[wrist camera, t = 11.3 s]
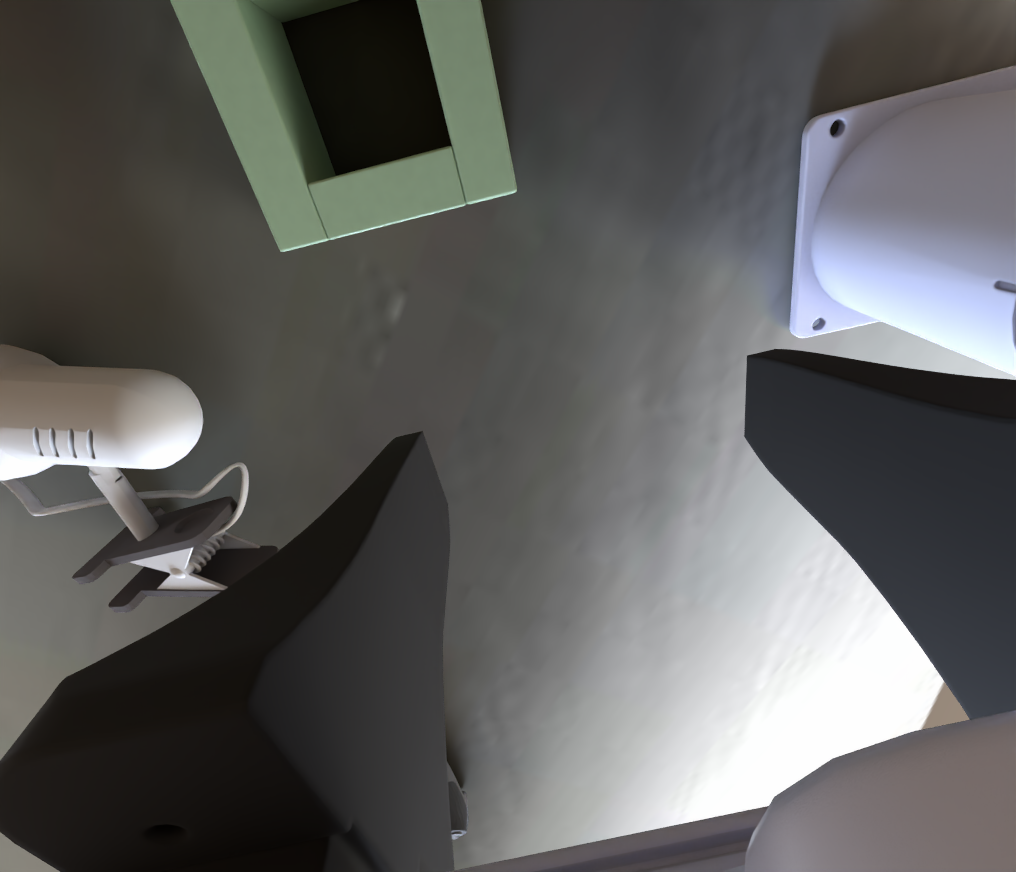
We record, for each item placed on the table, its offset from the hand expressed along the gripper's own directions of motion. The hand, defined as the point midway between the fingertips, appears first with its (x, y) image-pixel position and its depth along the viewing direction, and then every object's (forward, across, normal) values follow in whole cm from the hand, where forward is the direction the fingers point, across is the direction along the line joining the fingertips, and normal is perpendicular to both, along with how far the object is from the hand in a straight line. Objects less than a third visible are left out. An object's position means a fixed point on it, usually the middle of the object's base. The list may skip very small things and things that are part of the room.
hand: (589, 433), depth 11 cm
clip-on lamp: (+12, +22, +2) cm, 25 cm away
